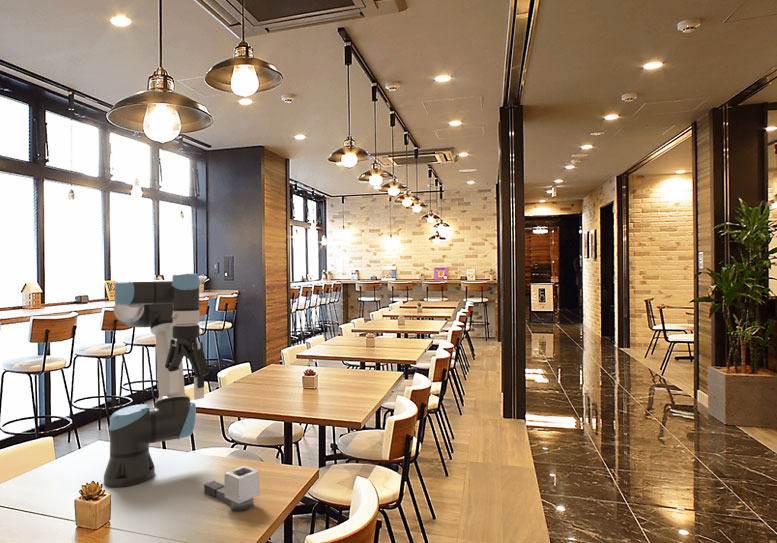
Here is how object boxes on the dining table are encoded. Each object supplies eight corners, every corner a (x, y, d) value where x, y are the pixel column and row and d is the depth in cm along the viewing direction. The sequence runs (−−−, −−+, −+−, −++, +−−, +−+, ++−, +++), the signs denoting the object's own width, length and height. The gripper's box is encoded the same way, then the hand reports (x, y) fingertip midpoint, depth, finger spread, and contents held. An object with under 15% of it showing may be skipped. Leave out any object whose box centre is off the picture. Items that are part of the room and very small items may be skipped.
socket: (224, 497, 141) (224, 472, 141) (244, 488, 146) (244, 465, 146) (239, 503, 137) (239, 478, 137) (259, 494, 142) (259, 470, 142)
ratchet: (199, 494, 149) (199, 466, 149) (218, 487, 154) (217, 460, 154) (239, 513, 137) (239, 483, 137) (257, 505, 142) (257, 476, 142)
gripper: (153, 323, 150) (153, 391, 150) (197, 328, 135) (198, 404, 134) (176, 321, 156) (176, 387, 156) (221, 325, 141) (221, 398, 140)
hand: (186, 395), depth 145 cm, fingers open, 13 cm apart
